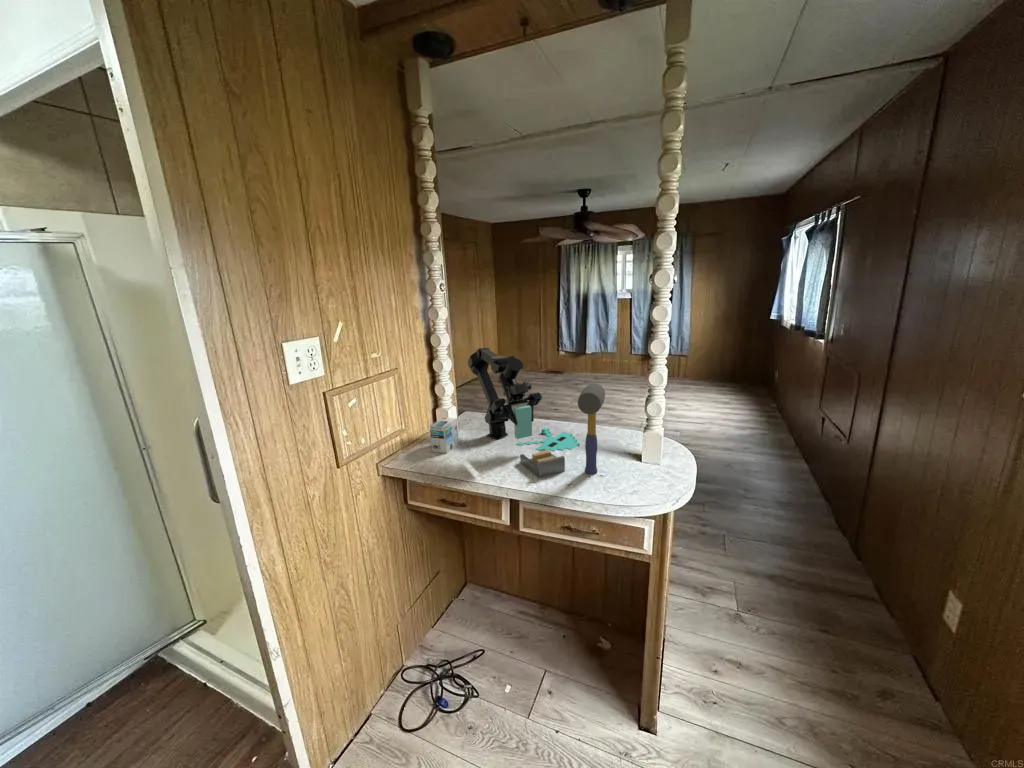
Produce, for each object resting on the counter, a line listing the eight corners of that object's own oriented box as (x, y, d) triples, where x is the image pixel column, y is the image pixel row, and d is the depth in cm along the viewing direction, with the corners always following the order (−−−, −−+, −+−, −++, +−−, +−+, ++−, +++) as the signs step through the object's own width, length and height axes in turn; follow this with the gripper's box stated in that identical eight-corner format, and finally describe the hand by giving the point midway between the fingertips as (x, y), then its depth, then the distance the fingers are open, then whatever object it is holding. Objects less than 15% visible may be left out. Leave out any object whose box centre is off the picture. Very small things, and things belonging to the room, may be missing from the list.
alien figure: (516, 449, 151) (561, 461, 140) (516, 443, 151) (561, 455, 139) (544, 432, 167) (587, 442, 155) (544, 427, 166) (587, 437, 154)
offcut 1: (532, 467, 131) (532, 453, 130) (548, 463, 134) (547, 449, 133) (535, 469, 130) (535, 455, 128) (551, 465, 132) (550, 452, 131)
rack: (518, 465, 137) (518, 448, 135) (543, 459, 141) (543, 442, 139) (538, 482, 124) (538, 463, 123) (565, 475, 129) (565, 456, 127)
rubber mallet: (600, 486, 120) (601, 392, 113) (575, 483, 123) (576, 391, 115) (605, 468, 132) (606, 382, 124) (582, 466, 134) (583, 381, 127)
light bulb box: (447, 453, 149) (444, 427, 146) (431, 452, 151) (428, 425, 148) (459, 443, 159) (457, 417, 156) (444, 441, 161) (442, 416, 158)
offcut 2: (537, 471, 129) (536, 459, 128) (552, 466, 131) (552, 455, 130) (540, 473, 127) (539, 462, 126) (555, 469, 130) (555, 458, 129)
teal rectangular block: (514, 437, 141) (513, 408, 138) (529, 433, 144) (528, 405, 141) (517, 439, 139) (516, 409, 137) (532, 435, 142) (531, 406, 139)
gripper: (492, 377, 136) (507, 417, 129) (539, 370, 143) (555, 407, 136) (484, 394, 144) (498, 432, 138) (529, 386, 152) (544, 422, 145)
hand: (524, 423), depth 139 cm, fingers closed on teal rectangular block, 6 cm apart
